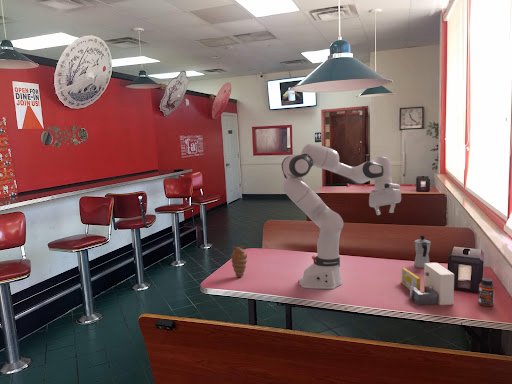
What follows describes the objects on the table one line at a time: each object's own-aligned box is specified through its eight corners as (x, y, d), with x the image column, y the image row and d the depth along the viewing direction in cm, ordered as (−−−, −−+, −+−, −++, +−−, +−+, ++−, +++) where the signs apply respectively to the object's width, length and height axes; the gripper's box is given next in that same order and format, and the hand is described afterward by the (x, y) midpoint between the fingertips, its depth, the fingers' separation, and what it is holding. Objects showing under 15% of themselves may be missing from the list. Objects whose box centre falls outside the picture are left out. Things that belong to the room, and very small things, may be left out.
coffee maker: (411, 262, 232) (412, 232, 229) (427, 262, 230) (428, 232, 228) (416, 270, 217) (417, 239, 215) (433, 270, 216) (434, 239, 213)
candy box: (420, 295, 185) (420, 278, 184) (416, 295, 185) (416, 278, 184) (404, 282, 201) (405, 267, 200) (400, 282, 201) (401, 267, 200)
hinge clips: (415, 305, 174) (416, 292, 173) (408, 297, 182) (408, 285, 181) (439, 304, 174) (440, 291, 173) (430, 296, 182) (431, 284, 182)
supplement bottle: (479, 305, 171) (480, 281, 169) (477, 300, 176) (478, 276, 175) (495, 307, 169) (496, 282, 167) (492, 301, 174) (493, 277, 173)
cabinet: (438, 305, 173) (438, 274, 171) (422, 291, 189) (422, 263, 187) (453, 304, 173) (454, 274, 171) (436, 290, 189) (436, 262, 187)
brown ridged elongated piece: (233, 280, 214) (231, 248, 211) (231, 275, 221) (229, 245, 219) (248, 278, 215) (247, 247, 213) (246, 274, 223) (244, 243, 220)
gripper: (365, 190, 212) (366, 215, 209) (392, 183, 193) (394, 211, 191) (374, 191, 214) (375, 216, 212) (402, 184, 196) (404, 211, 193)
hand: (385, 213), depth 201 cm, fingers open, 8 cm apart
